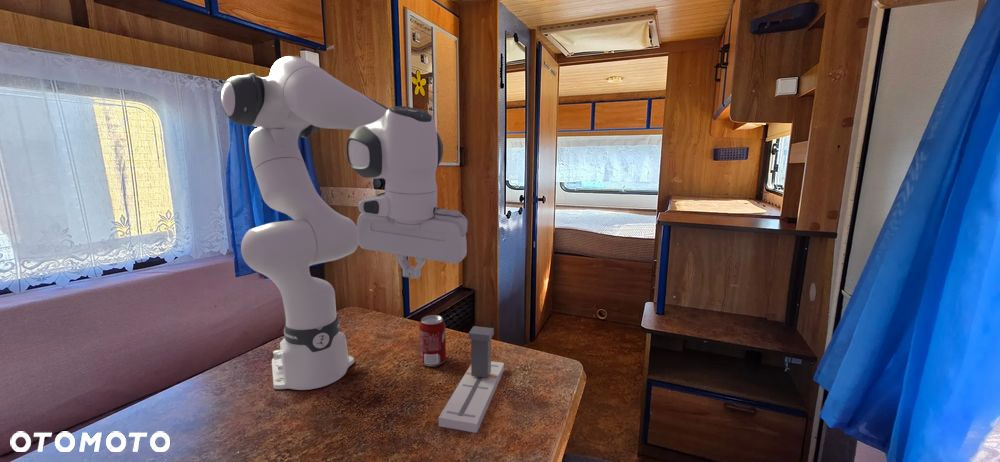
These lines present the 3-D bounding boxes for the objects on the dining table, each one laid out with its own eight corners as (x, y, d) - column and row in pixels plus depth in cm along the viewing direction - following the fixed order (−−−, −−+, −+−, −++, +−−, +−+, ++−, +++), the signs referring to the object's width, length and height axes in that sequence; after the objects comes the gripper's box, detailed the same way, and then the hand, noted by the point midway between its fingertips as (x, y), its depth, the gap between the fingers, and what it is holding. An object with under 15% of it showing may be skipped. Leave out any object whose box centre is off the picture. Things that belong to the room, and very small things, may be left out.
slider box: (476, 433, 77) (476, 423, 77) (438, 426, 79) (438, 416, 79) (504, 370, 100) (504, 362, 100) (474, 366, 102) (474, 358, 102)
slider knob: (489, 379, 91) (489, 335, 89) (468, 376, 93) (468, 333, 91) (493, 370, 95) (493, 328, 93) (473, 368, 96) (473, 326, 94)
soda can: (440, 369, 100) (439, 325, 98) (415, 366, 102) (414, 323, 99) (449, 356, 107) (448, 315, 104) (425, 354, 108) (424, 313, 106)
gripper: (473, 207, 69) (470, 278, 74) (369, 194, 74) (372, 262, 78) (461, 217, 64) (459, 293, 68) (349, 201, 68) (353, 274, 72)
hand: (411, 276), depth 73 cm, fingers closed
